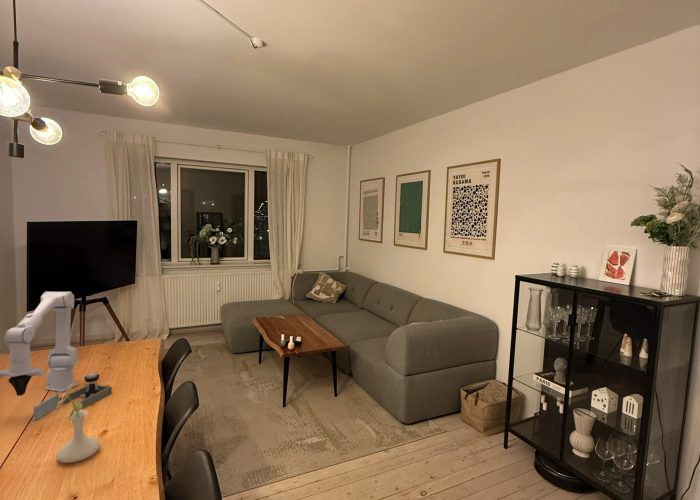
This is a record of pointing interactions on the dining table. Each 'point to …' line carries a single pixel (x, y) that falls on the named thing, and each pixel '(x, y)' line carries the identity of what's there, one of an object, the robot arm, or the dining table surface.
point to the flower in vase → (76, 435)
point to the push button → (91, 384)
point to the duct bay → (88, 401)
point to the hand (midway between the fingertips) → (21, 394)
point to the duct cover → (46, 406)
